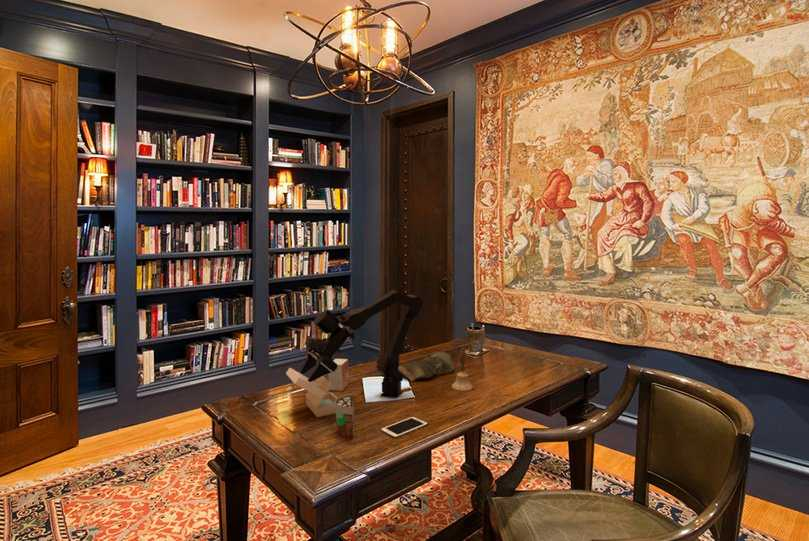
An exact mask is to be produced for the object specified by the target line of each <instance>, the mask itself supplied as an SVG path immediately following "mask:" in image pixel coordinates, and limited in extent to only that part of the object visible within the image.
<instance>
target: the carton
mask: <svg viewBox="0 0 809 541" xmlns="http://www.w3.org/2000/svg"><path fill="white" fill-rule="evenodd" d="M336 398H338V397H337V396H336V395H335V394H334V393H333V392H332V391H331V392H327V393H326V395H325V396H324V398H323V400H322V401H321V403H320V404H319V406H318V408H317V407H315V406H314V404H313V403H312V402H311V401H310V400H309V399H308V398H307V397H306V396H305V401H306V402H305V403H306V407H307V408H308V409H309V410H310V411H311V412H312V413H313V415H314V416H315V417H316V418H322V417H325V416H330V415H334V414H335V415H336V411H335V410H334V409H333V406H334V402H335V400H336Z"/></svg>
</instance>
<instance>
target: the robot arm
mask: <svg viewBox="0 0 809 541" xmlns="http://www.w3.org/2000/svg"><path fill="white" fill-rule="evenodd" d="M395 304H399V305H400V317H399V320H398V322H397V325H396V327H395V330H394V333H393V335H392V337H391V340H390V343H389V344H388V345H389V346H388V348H387V350H386V351H385V352H384V353H379V356H378V359H377V361H376V370H377V371H378V373H380V375H381V377H383V378H382V382H381V394H380V396H382V397H387V398H393V399H397V398H398V397H400V396H401V395H402V394H403V393H404V392H403V390H402V381H403V380H404V377H405V376H404V375H403V374H402V373H401V372H399V371H398V368H399V365H400V353H401V352H402V349H403V346H404V343H405V342H406V341H405V340H406V338H407V335H408V334H409V330H410V329H411V328H410V327H411V325H412V322H413V320H414V319H416V317H418V316H419V315H420V312H421V311H422V309H423V307H424V301H423V299H422V297H420V296H417V295H414V294H413V295H412V294H407V295H406V294H402V293H401V292H398V291H395V290H390V291H388V292H387V293H386V294H384V295H382V296H380V297H379V298H376V299H375V300H373V301H372V302H370V303H368V304H366V305H364V306H362V307H359V308H354V309H351V310H348V311H346V312H345V313H344V314H342V315H338V316H335V315H334V314H333V313H332V312H331V311H330V310H329V309H325V310H324V311H322V312H320V313H319V314H318V315H316V317H315V318H314V321H313V324H314V326H316V327H317V328H318V329H319V330H321V331H322V332H323V333H324V334H326V335H327V334H329V335H328V336H327V338H326V337H323V338H318V337H314V336H313V337H312V336H309V335H307V336H306V339H305V341H304V346H306V348H305V356H306V359H305V361H304V363H303V365H302V367H301V370H300V371H299V373H300V374H302V375H305V373H307V372H309V371H310V370H311V369H312V368H314V370H313V371H312V372H311V374H310V375H309V377H308V378H309V379H308V381H309V382H312V381H314V382H315V380H316V379H318V378H320V377H322V376H323V377H325V376H326V375H329V373H331V371H333V372H335V370H336V369H337V364H336V363H335V362H334V360H333V357H334V356H335V355H336V353H337V352H338V353H340V352H341V347H342V346H343V345H344V343H346V341H347V340H348V339H350V340H353V341H355V332H354V331H356V330H360V328H361V327H363V326H364V325H365V324H366V323H367V322H368V320H369V319H371V317H373V316H375V315H377V314H378V313H380V312H382V311H384V310H386V309H387V308H389V307H390V306H393V305H395ZM340 325H341V326H342V327H341V326H340ZM349 329H351V330H349ZM352 330H354V331H352ZM330 370H331V371H330Z"/></svg>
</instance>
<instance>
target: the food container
mask: <svg viewBox="0 0 809 541" xmlns="http://www.w3.org/2000/svg"><path fill="white" fill-rule="evenodd" d="M354 397H355V396H354V393H345V394H343V395H340V396H338V397H337V398H336V400H335V402H334V406H333V409H334V410H335V411H336V414H335V417H336V426H337V428H336V430H337V434H338V435H339V436H341V437H344V438H348V439H349V438H354V432H355V410H354V409H355V408H354V406H355V405H354V404H355V403H354V402H355V401H354Z"/></svg>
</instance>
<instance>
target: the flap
mask: <svg viewBox="0 0 809 541" xmlns="http://www.w3.org/2000/svg"><path fill="white" fill-rule="evenodd" d="M285 374H286V376H287V377H288V378H289V379H290V380H291V381H292V383H294V385H295V386H296V385H297V386H298V387H300V388H302V389H304V390H306V391H307V393H306V394H305V398H306V397H307V398H308V399H309V400H310V401H311V402H312V403H313V404H314V406H315V407H317V408H318V406H319V404H320V403H321V401H322V400H323V398H324V396H325V395H326V393H329V391H330V390H329V389H330V387H331V385H332V384H331V383H330V382H329V379H327V378H326V377H325V376H322V377H320V378H318V379H316V380H314V381H312V382H309V381H308V379H309V377H307V376H305V374H301V373H300V372H299V371H297V370H295V369H294V368H291V367H289V368H288V370H287V371H286V372H285Z"/></svg>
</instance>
